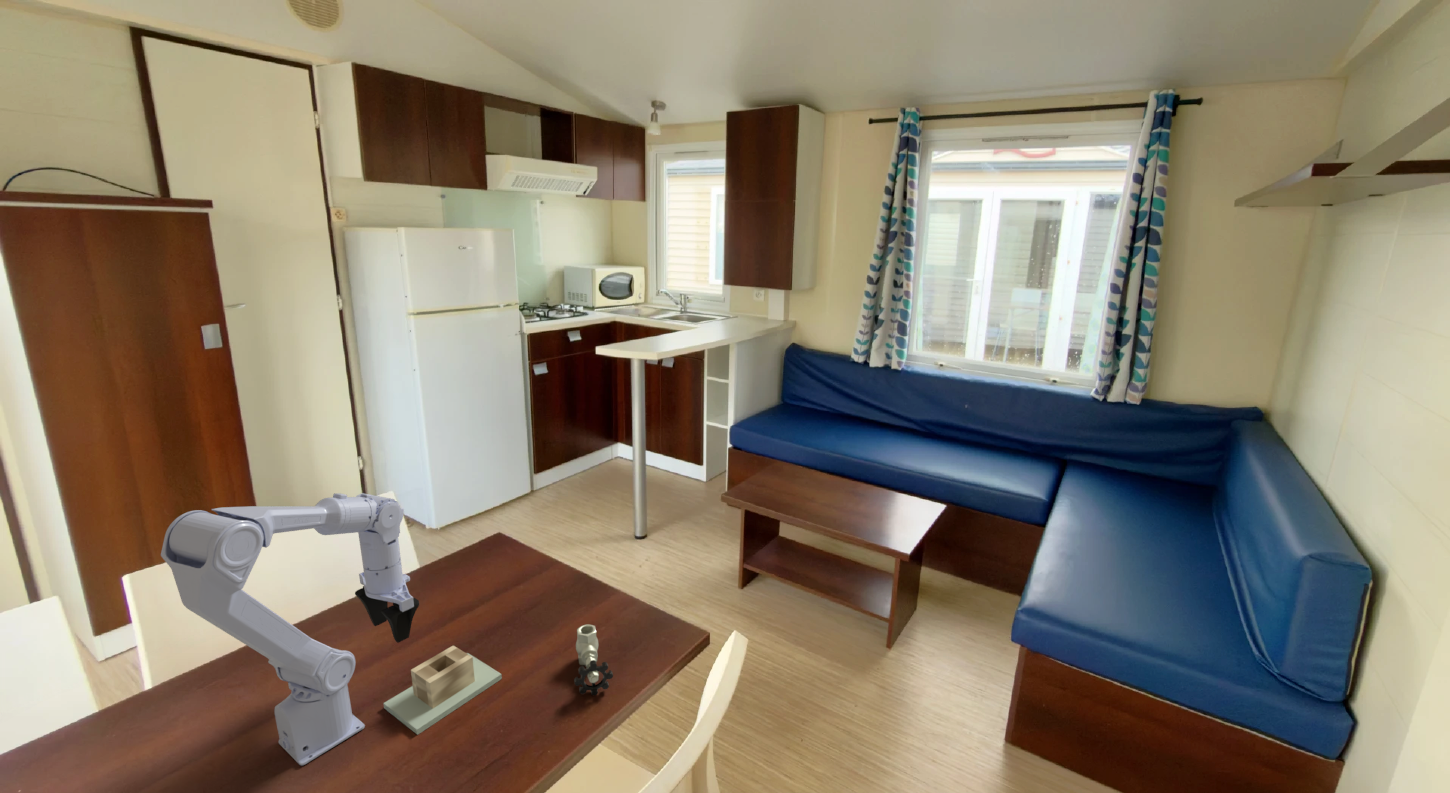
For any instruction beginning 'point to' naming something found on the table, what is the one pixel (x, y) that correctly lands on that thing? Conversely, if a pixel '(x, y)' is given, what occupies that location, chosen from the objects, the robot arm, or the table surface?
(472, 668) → the collar block
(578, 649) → the valve
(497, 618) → the table surface
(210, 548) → the robot arm
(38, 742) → the table surface
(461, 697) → the pin base
